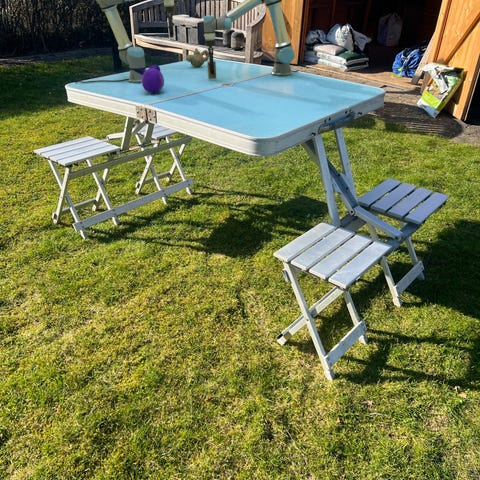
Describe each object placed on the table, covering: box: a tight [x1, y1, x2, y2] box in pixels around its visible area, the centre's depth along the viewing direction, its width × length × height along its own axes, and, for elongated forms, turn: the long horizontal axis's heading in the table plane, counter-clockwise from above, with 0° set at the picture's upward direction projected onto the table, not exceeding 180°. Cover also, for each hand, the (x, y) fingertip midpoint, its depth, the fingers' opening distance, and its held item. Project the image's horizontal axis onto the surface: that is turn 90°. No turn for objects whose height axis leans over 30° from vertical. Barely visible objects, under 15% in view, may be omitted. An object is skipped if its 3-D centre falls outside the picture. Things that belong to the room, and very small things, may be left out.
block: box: [206, 60, 217, 80], centre depth 333 cm, size 6×5×12 cm
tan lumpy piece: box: [185, 48, 209, 68], centre depth 384 cm, size 21×12×15 cm, turn 120°
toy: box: [134, 64, 165, 94], centre depth 304 cm, size 16×18×27 cm
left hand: (171, 36), depth 353 cm, fingers open, 13 cm apart
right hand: (212, 73), depth 334 cm, fingers closed on block, 5 cm apart
